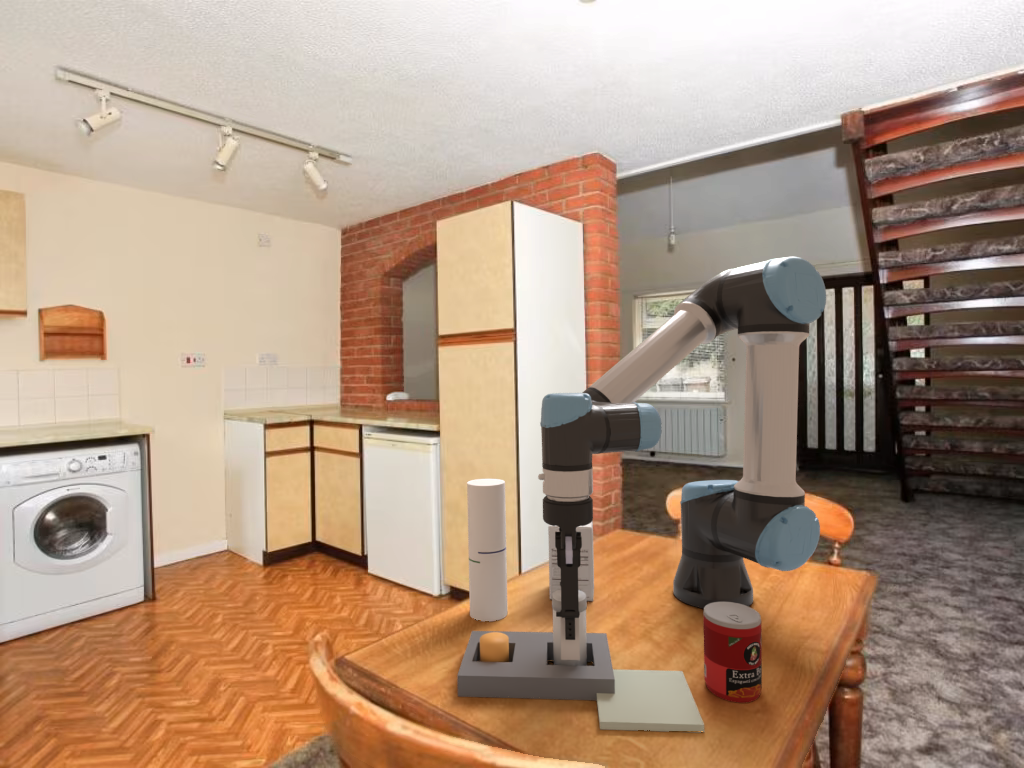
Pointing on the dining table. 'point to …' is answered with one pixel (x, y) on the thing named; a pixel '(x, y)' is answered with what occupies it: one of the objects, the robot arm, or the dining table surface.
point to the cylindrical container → (487, 549)
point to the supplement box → (585, 556)
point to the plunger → (494, 647)
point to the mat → (649, 702)
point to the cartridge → (557, 630)
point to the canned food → (732, 651)
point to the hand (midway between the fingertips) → (569, 648)
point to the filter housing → (536, 670)
